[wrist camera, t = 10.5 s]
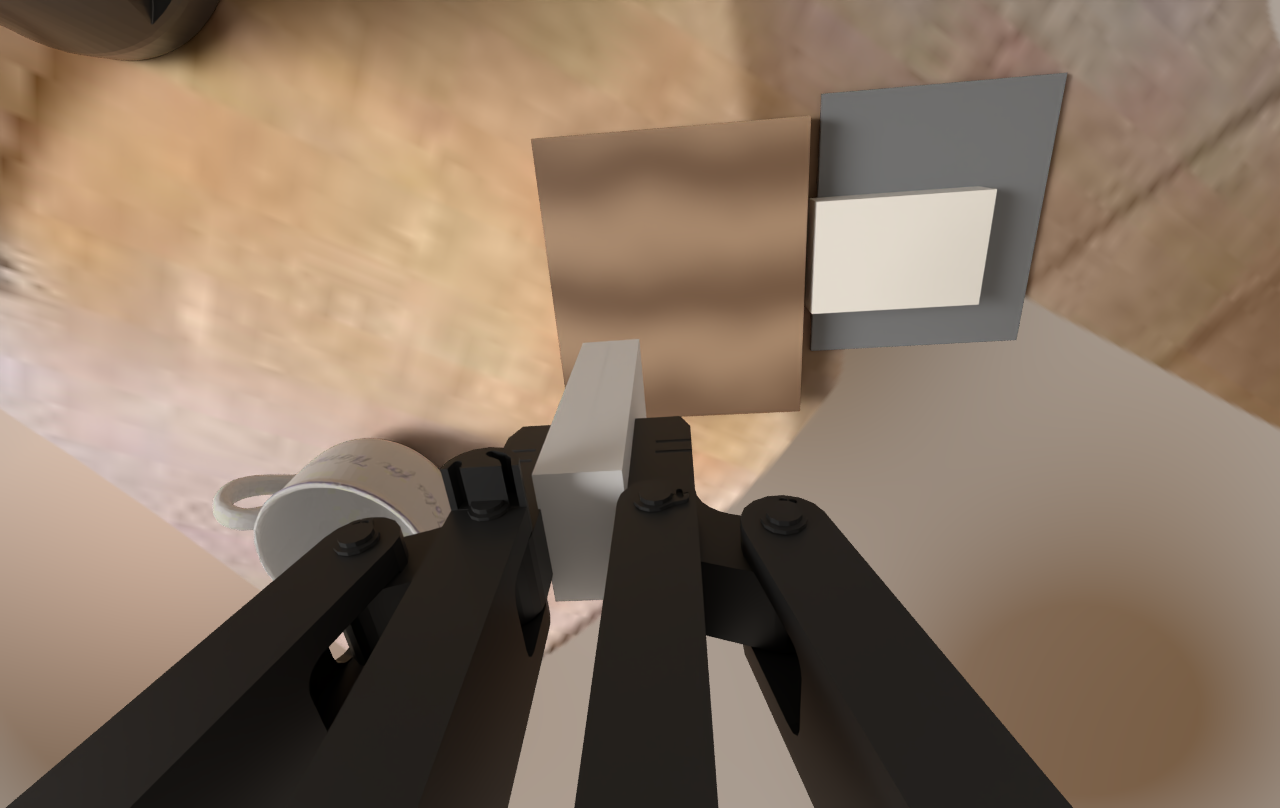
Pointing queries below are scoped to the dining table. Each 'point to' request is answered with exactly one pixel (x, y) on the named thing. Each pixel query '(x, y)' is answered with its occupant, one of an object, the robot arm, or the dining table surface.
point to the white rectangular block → (897, 249)
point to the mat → (938, 159)
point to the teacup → (335, 498)
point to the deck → (684, 257)
